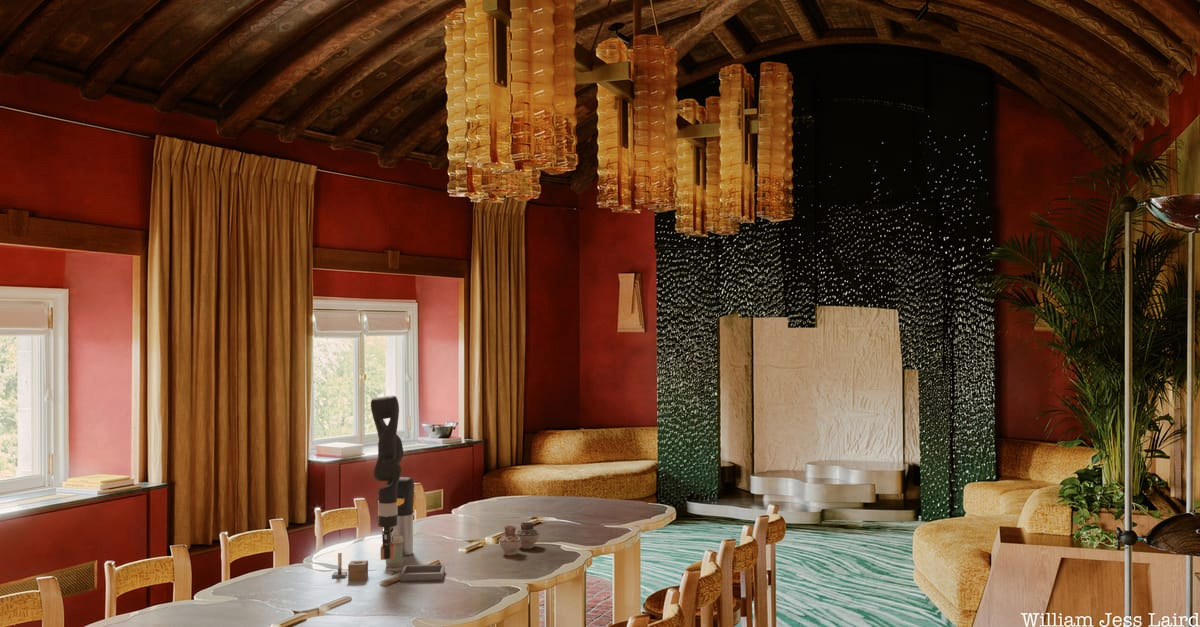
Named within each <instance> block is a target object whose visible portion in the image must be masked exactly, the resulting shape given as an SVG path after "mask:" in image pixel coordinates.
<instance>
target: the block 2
mask: <svg viewBox="0 0 1200 627" xmlns="http://www.w3.org/2000/svg"><path fill="white" fill-rule="evenodd" d="M386 545H388V544H385V546H386ZM394 558H395V544H390V558H389V559H384V549H383V543H382V544H381V545H380V560H381V561H386V560H391V559H394Z"/></svg>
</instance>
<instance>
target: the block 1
mask: <svg viewBox="0 0 1200 627" xmlns="http://www.w3.org/2000/svg"><path fill="white" fill-rule="evenodd" d="M347 567H348V568H347V569H348V570H347V577H348V578H347V579H348V581H350V582H366V581H367V579H368V577H369V560H351V561H350V562H349V563H348V564H347Z"/></svg>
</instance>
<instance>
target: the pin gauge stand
mask: <svg viewBox="0 0 1200 627" xmlns="http://www.w3.org/2000/svg"><path fill="white" fill-rule="evenodd" d="M342 555H343V554H342V552H337V571H334V572H333V573H332V575H331V579H342V578H343V579H344V578H347V576H348V571H343V570H342V568H343V567H342V566H343V564H342V562H343V561H342V558H343V557H342ZM346 575H347V576H346Z"/></svg>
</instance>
